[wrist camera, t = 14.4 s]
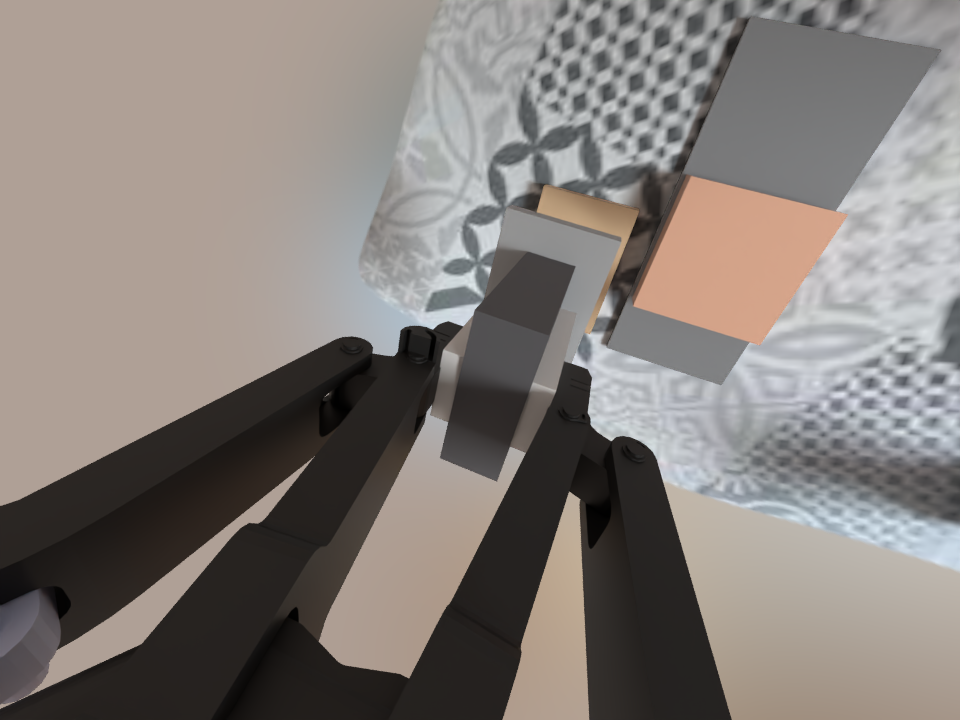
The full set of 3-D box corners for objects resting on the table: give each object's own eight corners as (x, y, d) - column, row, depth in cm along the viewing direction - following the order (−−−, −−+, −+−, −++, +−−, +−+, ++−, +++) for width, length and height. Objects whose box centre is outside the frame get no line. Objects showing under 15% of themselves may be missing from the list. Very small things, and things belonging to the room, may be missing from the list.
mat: (748, 18, 22) (751, 16, 22) (934, 51, 21) (941, 49, 20) (606, 345, 34) (606, 347, 34) (719, 382, 32) (721, 385, 32)
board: (546, 184, 30) (543, 185, 29) (639, 208, 28) (639, 211, 27) (514, 303, 35) (510, 308, 34) (591, 328, 34) (590, 334, 33)
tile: (691, 176, 24) (632, 306, 29) (848, 214, 23) (759, 345, 28) (686, 174, 26) (632, 296, 31) (831, 209, 25) (751, 332, 29)
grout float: (511, 204, 18) (437, 243, 10) (621, 237, 17) (622, 302, 10) (470, 367, 22) (400, 471, 15) (554, 399, 22) (522, 523, 14)
